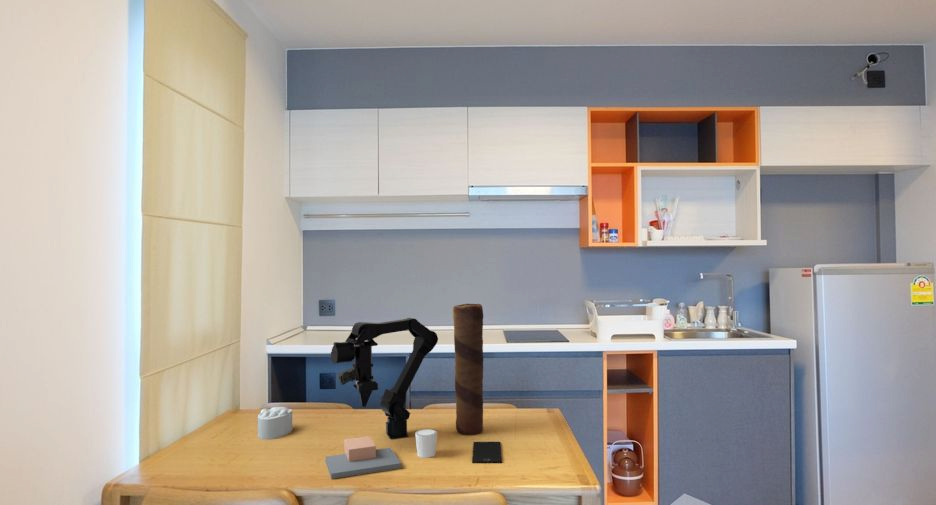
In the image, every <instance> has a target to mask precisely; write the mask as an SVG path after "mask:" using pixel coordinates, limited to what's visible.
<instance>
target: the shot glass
mask: <svg viewBox="0 0 936 505" xmlns="http://www.w3.org/2000/svg"><path fill="white" fill-rule="evenodd" d="M437 436H438V431H437V430H435V429H430V428H429V429H428V428H425V429H423V428H422V429H419V430H417V431H415V444H416V454H417V456H418V458H423V459H427V458H432V457H435V456H436V453H437V439H438V437H437Z"/></svg>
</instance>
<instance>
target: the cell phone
mask: <svg viewBox="0 0 936 505" xmlns="http://www.w3.org/2000/svg"><path fill="white" fill-rule="evenodd" d="M501 446H502V445H501V441H473V446H472V456H471V458H472V459H471V462H472V464H502V462H503V461H502V460H503V458H502V447H501Z"/></svg>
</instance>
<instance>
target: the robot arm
mask: <svg viewBox="0 0 936 505" xmlns="http://www.w3.org/2000/svg"><path fill="white" fill-rule="evenodd" d="M405 331H408V332H409V333H410V334H411V336H413V338H414V340H413V342H412V351H411V353H410V356H409V357H408V359H407V361H406V363H405V365H404V367H403V368H402V370H401V372H400V375H399V376H398V378H397V380H396V382H395V384H394V386H392V388H390V389H388V388H386V389H385V390H384V393H383V395H382V396H381V397H380V404H379V405H380V408H381V411H382V412H383V413H384V415H385V416H386V417H387V418H386V419H387V421H386V422H385V434H386V435H387V437H388V438H389V439H390V440H392V439H400V438H406V437H409V434H408V420H409V418H410V415H411V412H410V411H409V410H408V409H406V408H405V405H406V401H407V400H406V399H407V392H408V390H409V388H410V386H411V385H412V382H413V381H414V378H415V376H416V375H417V373H418V371H419V369H420V367H421V365H422V363H423V361H424V358H425V357H426V356H427V355H428V354H429V353H430V352H431V351H433V349H434V348H435V347H436V345H437V344H438V340H439V337H438V334H437V332H435V331H434V330H431V329H430V328H428V327H426V325H424V324H422V323H421V322H420V321H419V320H418V319H417V318H413V317H407V318H403V319H396V320H390V321H383V322H370V321H369V322H367V321H366V322H365V321H358V322H355V323H354V325H353V326H352V328H351V332H350V334H348V337H347V338H346V340H345V341H342V342H341V341H340V342H339V341H335V342H333V345H332V347H331V351H330V358H331V362H332V364H334V365H335V364H343V363H349V362H352V361H353V360H354V362H353V363H352V367H351V368H348V369H345V370H342V371H340V372H338V373H337V374H336V376H337V379H338V381H339V383H340V385H341V386H344V385H346V384H347V383H349V382H351V383H352V382H353V383H354V381H355V384H352V387H354V389H356V391H357V392H358V395H359V400H360V404H361V407H362V408H366V407H367V405H368V402H369V400H370V397H371V395H372V393H373V391H378V390H379V383H377V381H376V380H374V375H373V367H374V363H373V360H372V359H373V354H372V353H373V352H372V351H373V347H375V346H378V345H379V344H378V343H377V341H375V340H374V339H376V338H378V337H379V336H381V335H386V334H392V333H399V332H405Z"/></svg>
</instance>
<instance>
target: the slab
mask: <svg viewBox="0 0 936 505" xmlns="http://www.w3.org/2000/svg"><path fill="white" fill-rule="evenodd" d="M343 444H344V446H343V447H344V448H343V451H344V454H346V456H347V458H348V460H349V461H356V460H363V459H370V458H376V449H377V446H376V444H375V442H374V441H373V439H372V438H371V436H370V435H369V436H368V435H367V436H361V437H354V438H345V439H343Z"/></svg>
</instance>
